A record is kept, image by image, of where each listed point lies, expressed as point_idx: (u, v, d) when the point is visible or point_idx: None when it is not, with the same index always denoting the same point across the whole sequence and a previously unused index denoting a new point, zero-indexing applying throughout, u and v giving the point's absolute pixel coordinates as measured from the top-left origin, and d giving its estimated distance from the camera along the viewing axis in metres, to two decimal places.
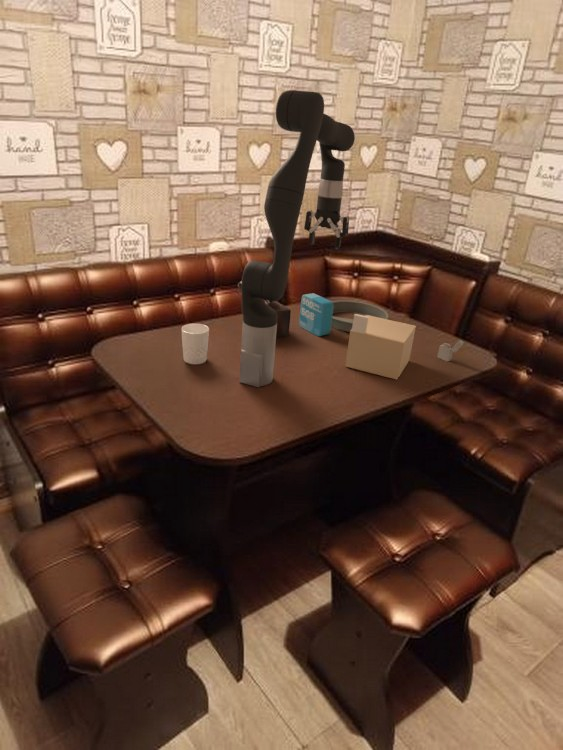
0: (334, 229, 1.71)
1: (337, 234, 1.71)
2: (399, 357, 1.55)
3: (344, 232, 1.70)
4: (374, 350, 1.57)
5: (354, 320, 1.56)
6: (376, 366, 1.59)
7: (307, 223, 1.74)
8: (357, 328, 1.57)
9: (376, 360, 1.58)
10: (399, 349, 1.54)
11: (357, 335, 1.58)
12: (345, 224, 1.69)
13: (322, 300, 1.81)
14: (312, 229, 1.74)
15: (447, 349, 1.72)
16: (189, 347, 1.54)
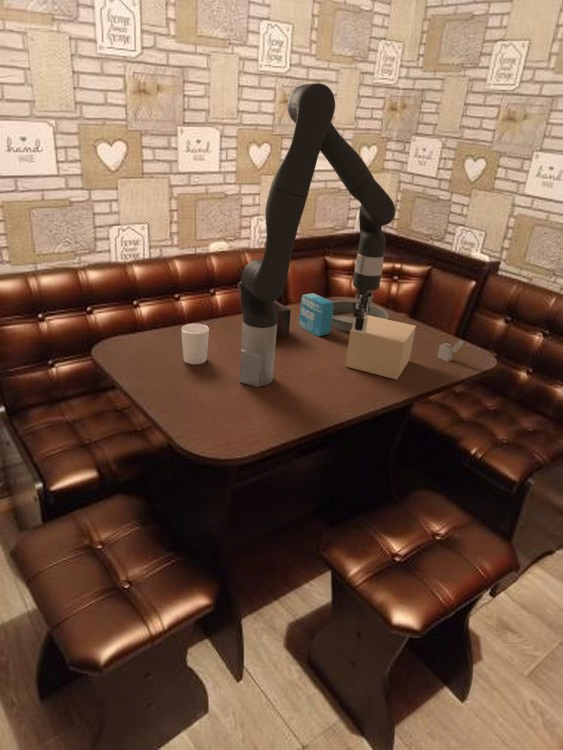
0: (369, 307, 1.55)
1: (366, 313, 1.55)
2: (399, 357, 1.55)
3: (369, 308, 1.57)
4: (374, 350, 1.57)
5: (354, 320, 1.56)
6: (376, 366, 1.59)
7: (362, 312, 1.51)
8: None
9: (376, 360, 1.58)
10: (399, 349, 1.54)
11: (357, 335, 1.58)
12: None
13: (322, 300, 1.81)
14: (364, 314, 1.53)
15: (447, 349, 1.72)
16: (189, 347, 1.54)
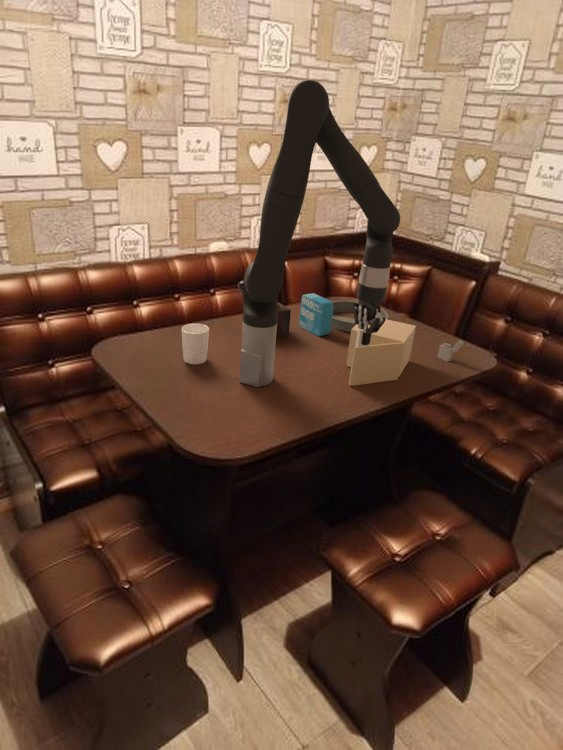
0: None
1: None
2: (400, 358, 1.55)
3: None
4: (378, 360, 1.52)
5: (360, 336, 1.45)
6: (379, 374, 1.54)
7: None
8: None
9: (380, 368, 1.53)
10: (401, 350, 1.53)
11: (362, 350, 1.48)
12: None
13: (322, 300, 1.81)
14: None
15: (447, 349, 1.72)
16: (189, 347, 1.54)
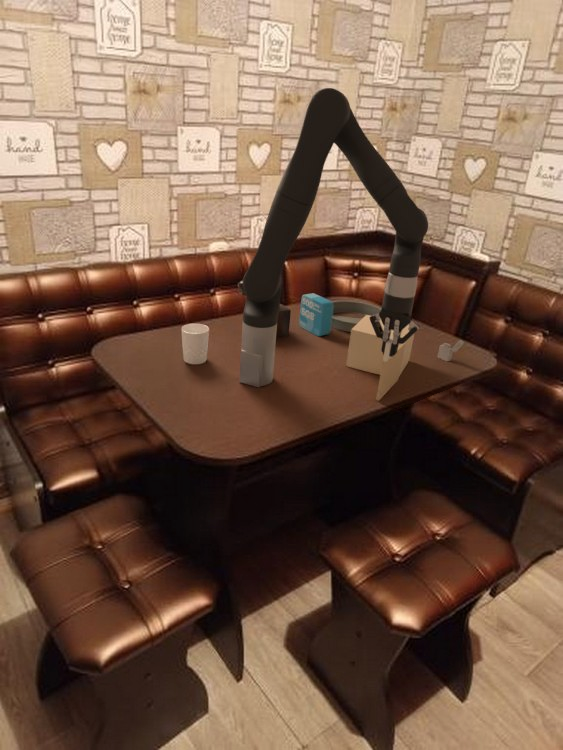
0: None
1: None
2: (402, 358, 1.54)
3: None
4: (393, 366, 1.48)
5: (389, 349, 1.39)
6: (392, 380, 1.52)
7: None
8: None
9: (392, 374, 1.51)
10: (403, 351, 1.53)
11: (388, 362, 1.42)
12: None
13: (322, 300, 1.81)
14: None
15: (447, 349, 1.72)
16: (189, 347, 1.54)
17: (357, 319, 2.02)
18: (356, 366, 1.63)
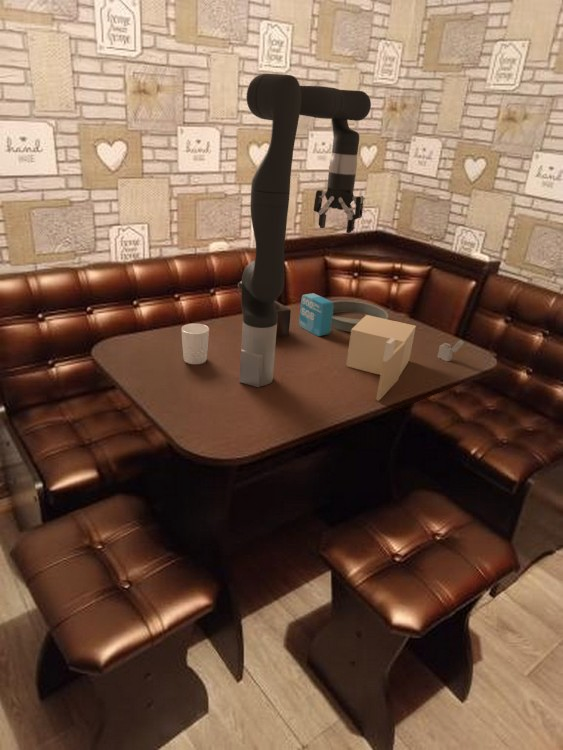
0: None
1: None
2: (402, 358, 1.54)
3: None
4: (393, 366, 1.48)
5: (389, 349, 1.39)
6: (392, 380, 1.52)
7: None
8: (390, 355, 1.41)
9: (393, 374, 1.51)
10: (403, 351, 1.53)
11: (388, 362, 1.42)
12: None
13: (322, 300, 1.81)
14: None
15: (447, 349, 1.72)
16: (189, 347, 1.54)
17: (357, 319, 2.02)
18: (356, 366, 1.63)
